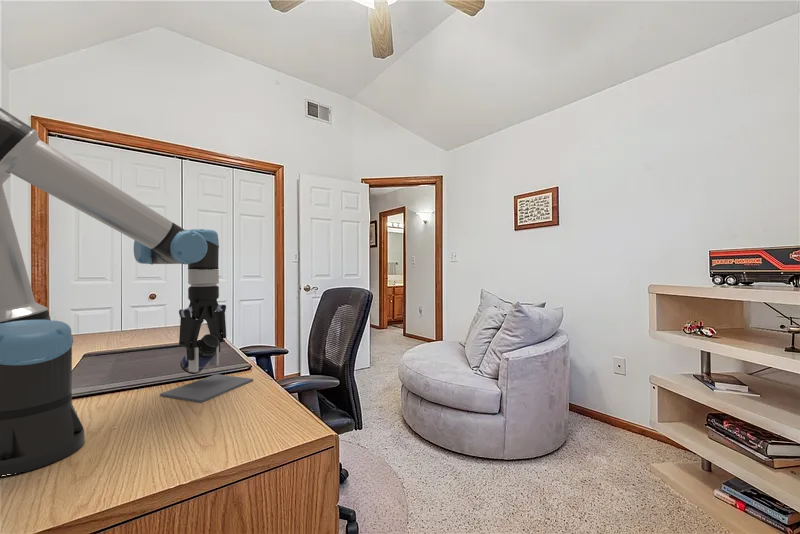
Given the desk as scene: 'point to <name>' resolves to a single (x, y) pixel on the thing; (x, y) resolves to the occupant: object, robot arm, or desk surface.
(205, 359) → the pill bottle
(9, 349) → the robot arm
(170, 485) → the desk surface
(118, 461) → the desk surface
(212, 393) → the desk mat
